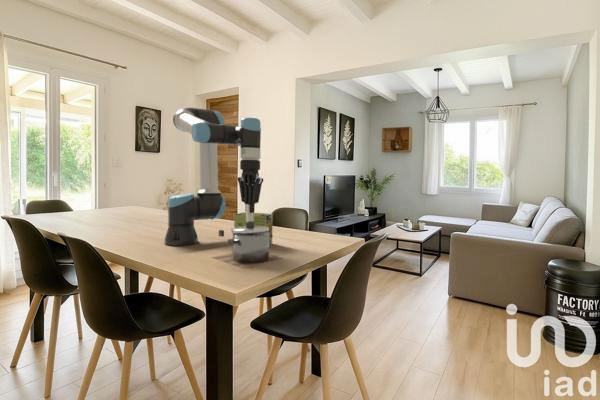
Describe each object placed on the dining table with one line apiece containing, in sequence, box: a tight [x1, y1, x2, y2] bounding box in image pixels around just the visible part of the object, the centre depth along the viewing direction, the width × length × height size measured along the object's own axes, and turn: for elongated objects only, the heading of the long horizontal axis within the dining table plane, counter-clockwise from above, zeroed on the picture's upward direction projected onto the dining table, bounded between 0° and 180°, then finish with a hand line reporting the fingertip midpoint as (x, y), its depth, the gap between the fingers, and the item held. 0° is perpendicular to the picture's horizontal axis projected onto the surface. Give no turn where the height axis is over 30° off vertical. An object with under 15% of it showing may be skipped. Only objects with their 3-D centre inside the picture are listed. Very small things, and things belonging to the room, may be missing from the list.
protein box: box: [233, 211, 274, 246], centre depth 153 cm, size 10×15×16 cm
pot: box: [218, 229, 273, 264], centre depth 129 cm, size 16×19×11 cm
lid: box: [230, 221, 269, 234], centre depth 128 cm, size 15×14×4 cm
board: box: [211, 252, 284, 269], centre depth 130 cm, size 20×20×1 cm
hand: (249, 220), depth 128 cm, fingers closed
